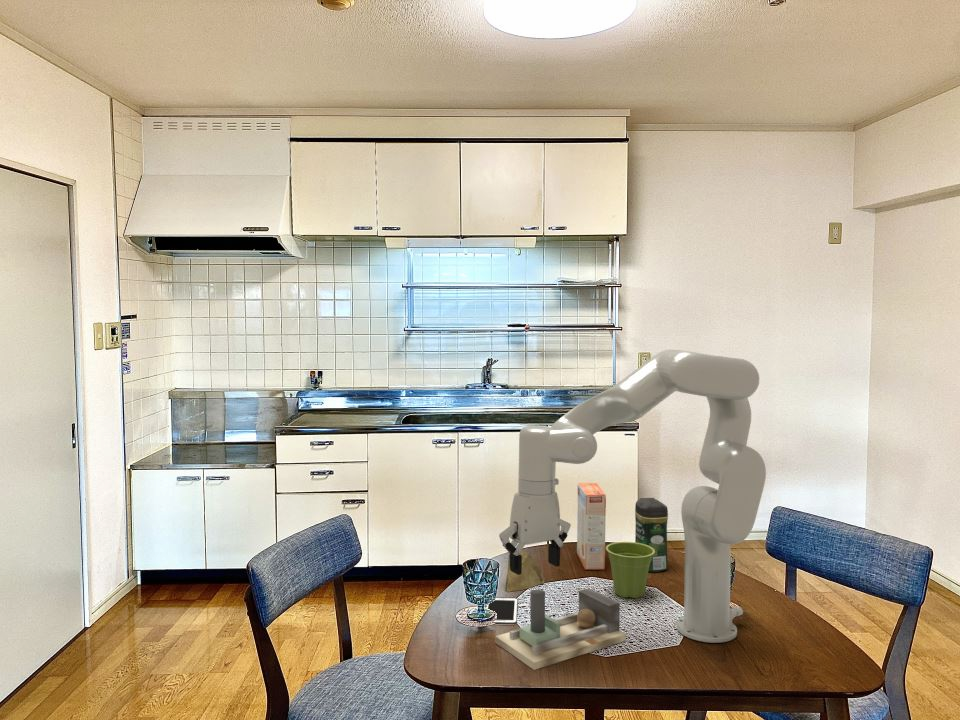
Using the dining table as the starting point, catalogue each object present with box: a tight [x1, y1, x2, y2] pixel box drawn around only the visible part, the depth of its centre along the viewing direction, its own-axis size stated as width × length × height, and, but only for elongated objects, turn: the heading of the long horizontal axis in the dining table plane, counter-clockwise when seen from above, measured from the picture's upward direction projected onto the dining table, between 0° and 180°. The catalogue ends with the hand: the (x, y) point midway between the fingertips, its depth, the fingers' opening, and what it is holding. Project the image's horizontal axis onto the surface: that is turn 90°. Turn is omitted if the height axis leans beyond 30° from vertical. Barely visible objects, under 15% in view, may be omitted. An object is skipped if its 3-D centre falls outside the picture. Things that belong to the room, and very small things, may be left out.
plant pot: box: [605, 541, 655, 599], centre depth 183 cm, size 12×12×11 cm
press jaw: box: [519, 589, 560, 646], centre depth 154 cm, size 6×6×10 cm
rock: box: [505, 549, 545, 593], centre depth 188 cm, size 11×9×10 cm
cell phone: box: [487, 596, 519, 625], centre depth 173 cm, size 8×15×1 cm, turn 176°
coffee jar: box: [634, 497, 669, 573], centre depth 202 cm, size 10×8×19 cm
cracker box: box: [576, 482, 607, 571], centre depth 206 cm, size 14×6×21 cm, turn 1°
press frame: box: [494, 587, 627, 671], centre depth 157 cm, size 24×14×8 cm, turn 122°
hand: (535, 568), depth 153 cm, fingers open, 9 cm apart
